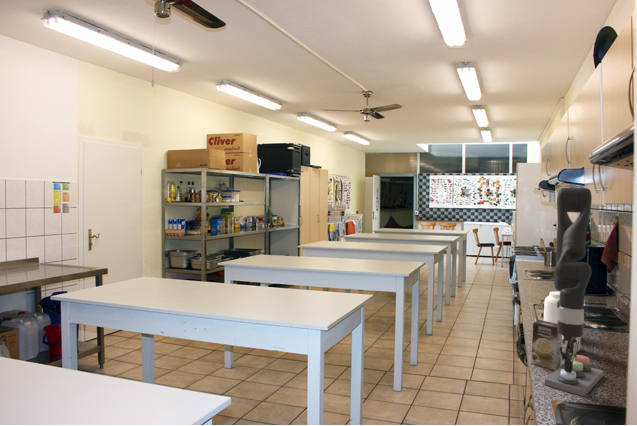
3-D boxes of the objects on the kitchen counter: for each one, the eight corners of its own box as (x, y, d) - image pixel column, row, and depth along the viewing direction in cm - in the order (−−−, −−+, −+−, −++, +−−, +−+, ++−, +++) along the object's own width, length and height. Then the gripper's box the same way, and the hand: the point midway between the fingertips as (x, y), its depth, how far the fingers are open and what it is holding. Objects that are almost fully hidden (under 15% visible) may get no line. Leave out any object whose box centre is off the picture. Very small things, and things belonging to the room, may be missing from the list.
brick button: (576, 359, 166) (576, 354, 166) (590, 362, 163) (590, 357, 163) (572, 362, 163) (572, 357, 163) (587, 366, 159) (587, 360, 159)
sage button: (569, 365, 160) (570, 359, 160) (584, 368, 157) (584, 363, 157) (565, 368, 157) (566, 362, 157) (580, 372, 154) (580, 366, 154)
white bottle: (573, 340, 201) (575, 296, 200) (542, 336, 207) (544, 293, 206) (573, 333, 212) (574, 291, 211) (543, 329, 218) (545, 288, 217)
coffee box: (530, 363, 172) (531, 322, 172) (536, 359, 177) (538, 319, 176) (555, 370, 166) (557, 327, 165) (561, 366, 170) (563, 324, 170)
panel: (566, 366, 170) (566, 359, 170) (603, 376, 162) (603, 368, 161) (544, 384, 153) (544, 376, 153) (584, 396, 144) (584, 387, 144)
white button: (562, 373, 155) (563, 368, 154) (577, 377, 151) (577, 372, 151) (558, 377, 151) (558, 371, 151) (573, 381, 148) (573, 375, 148)
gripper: (564, 314, 158) (562, 363, 159) (552, 321, 148) (549, 373, 149) (588, 319, 153) (586, 369, 153) (577, 326, 143) (574, 380, 144)
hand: (568, 371), depth 151 cm, fingers closed
